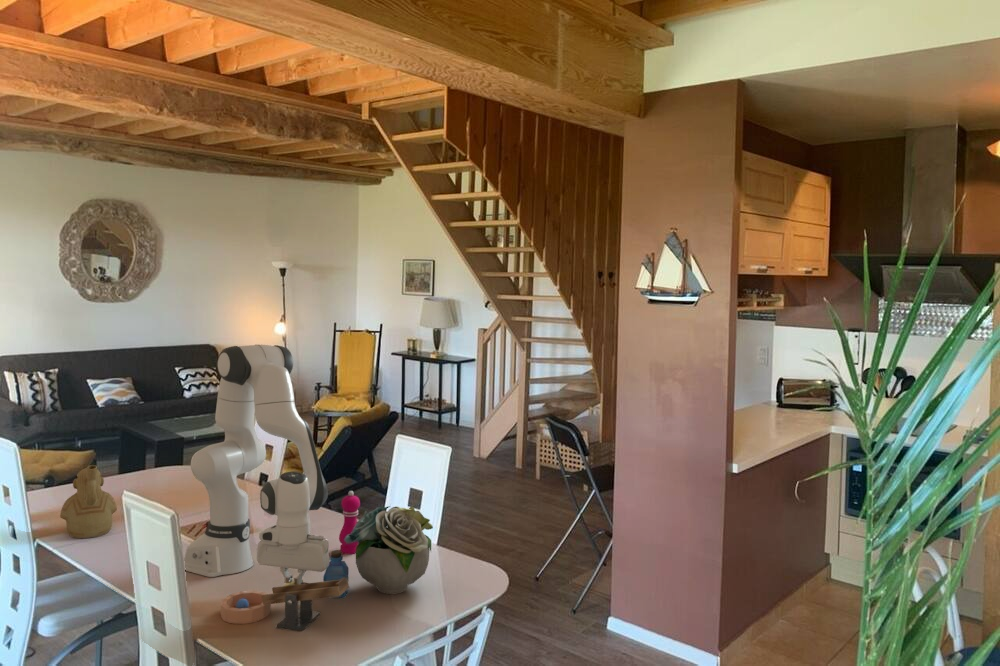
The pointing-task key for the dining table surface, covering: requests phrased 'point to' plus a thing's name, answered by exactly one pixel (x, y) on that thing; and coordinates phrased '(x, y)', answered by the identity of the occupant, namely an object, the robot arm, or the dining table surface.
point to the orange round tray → (244, 615)
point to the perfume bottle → (336, 569)
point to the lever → (307, 591)
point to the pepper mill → (349, 522)
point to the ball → (242, 604)
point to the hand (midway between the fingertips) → (293, 583)
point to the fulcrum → (297, 614)
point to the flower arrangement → (391, 547)
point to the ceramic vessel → (88, 506)
